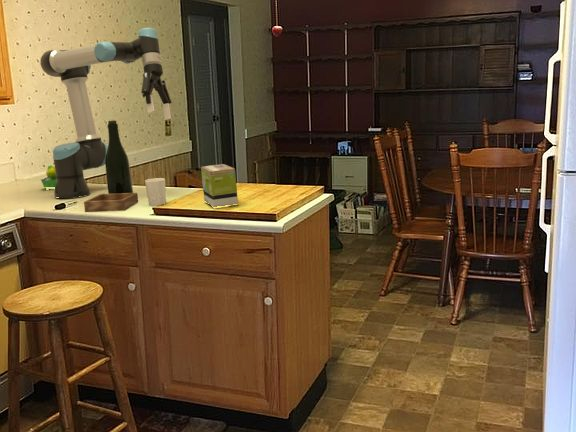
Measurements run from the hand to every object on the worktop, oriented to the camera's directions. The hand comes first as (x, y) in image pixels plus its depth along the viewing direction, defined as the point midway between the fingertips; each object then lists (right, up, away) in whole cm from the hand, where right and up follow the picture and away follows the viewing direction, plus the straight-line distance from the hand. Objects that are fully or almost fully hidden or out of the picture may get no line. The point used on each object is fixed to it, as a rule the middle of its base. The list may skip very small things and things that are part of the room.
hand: (159, 115), depth 256 cm
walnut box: (-18, -37, -4) cm, 42 cm away
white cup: (0, -36, -4) cm, 36 cm away
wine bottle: (-21, -32, +19) cm, 43 cm away
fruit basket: (-62, -28, +53) cm, 86 cm away
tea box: (+26, -37, -11) cm, 46 cm away
